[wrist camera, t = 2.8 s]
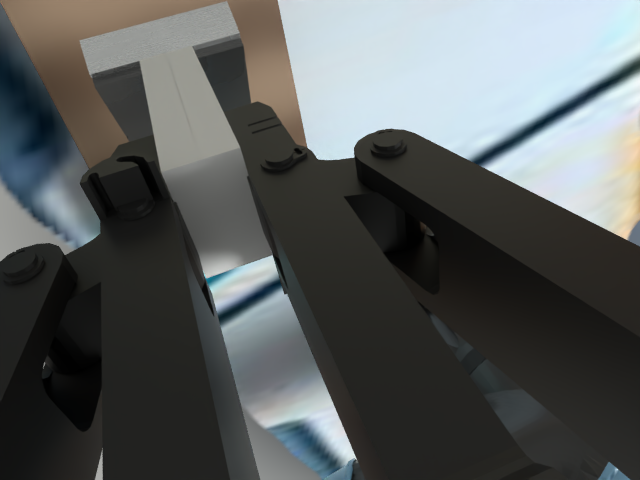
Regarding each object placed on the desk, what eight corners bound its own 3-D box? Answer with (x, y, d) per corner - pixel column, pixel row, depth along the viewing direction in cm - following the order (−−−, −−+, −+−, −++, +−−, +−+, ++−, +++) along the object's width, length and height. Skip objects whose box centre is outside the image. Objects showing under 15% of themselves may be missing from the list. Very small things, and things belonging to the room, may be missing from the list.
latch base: (304, 178, 36) (330, 221, 32) (136, 234, 34) (141, 287, 30) (211, -253, 22) (237, -278, 18) (-86, -198, 20) (-136, -211, 16)
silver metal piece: (259, 206, 32) (268, 229, 32) (192, 228, 32) (200, 253, 31) (224, -5, 15) (243, 41, 15) (77, 34, 15) (92, 83, 14)
